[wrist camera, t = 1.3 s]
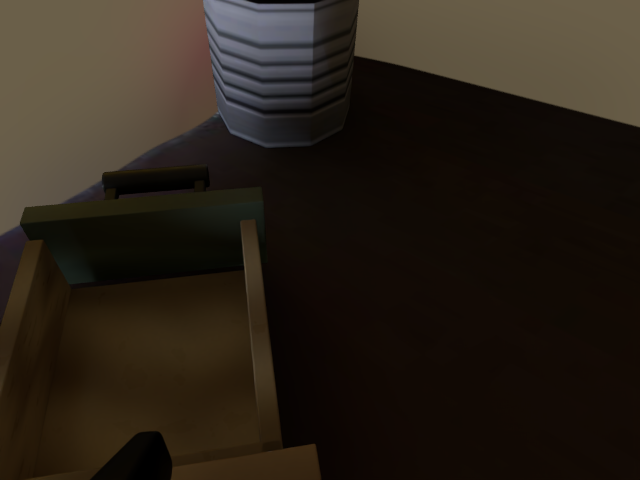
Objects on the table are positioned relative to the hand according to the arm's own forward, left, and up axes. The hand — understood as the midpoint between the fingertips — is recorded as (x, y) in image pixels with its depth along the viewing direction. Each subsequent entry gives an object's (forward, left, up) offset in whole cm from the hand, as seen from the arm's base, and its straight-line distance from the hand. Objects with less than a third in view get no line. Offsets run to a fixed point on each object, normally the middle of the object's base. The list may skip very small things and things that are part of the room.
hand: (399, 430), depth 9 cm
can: (+27, +20, -15) cm, 37 cm away
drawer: (+4, +13, -14) cm, 20 cm away
